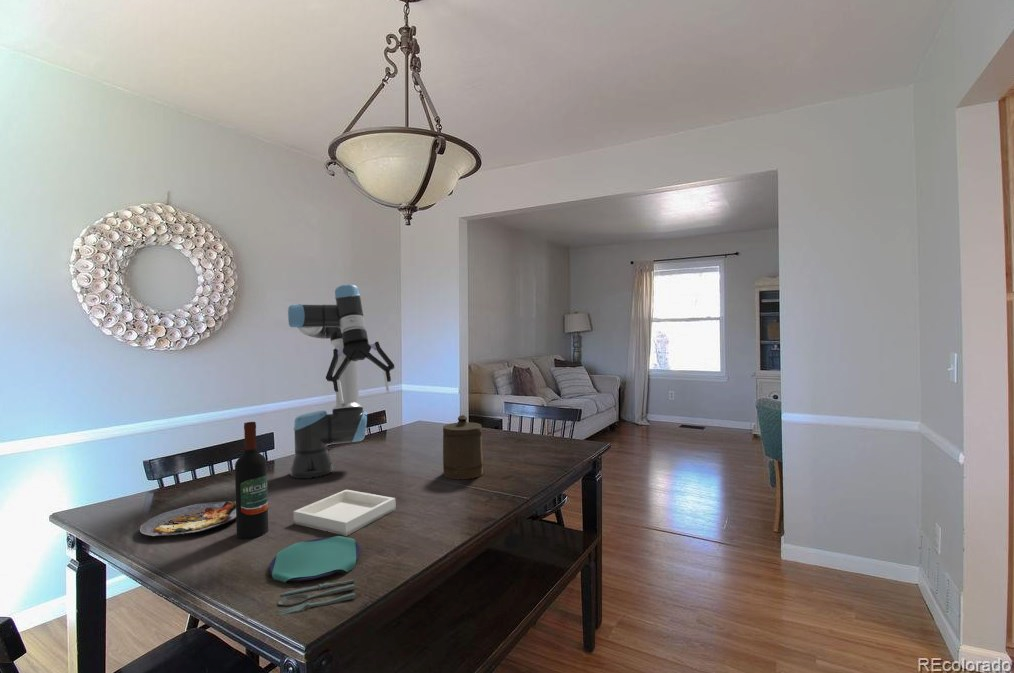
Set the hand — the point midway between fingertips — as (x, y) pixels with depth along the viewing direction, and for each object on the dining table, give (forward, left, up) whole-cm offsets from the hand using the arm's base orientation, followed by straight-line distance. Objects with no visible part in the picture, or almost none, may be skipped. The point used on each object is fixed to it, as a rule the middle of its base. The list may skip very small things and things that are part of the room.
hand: (365, 397), depth 142 cm
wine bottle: (-17, -25, -35) cm, 46 cm away
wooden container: (+8, +43, -35) cm, 55 cm away
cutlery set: (+16, -33, -35) cm, 51 cm away
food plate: (-39, -27, -35) cm, 59 cm away
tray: (-2, -6, -34) cm, 35 cm away
